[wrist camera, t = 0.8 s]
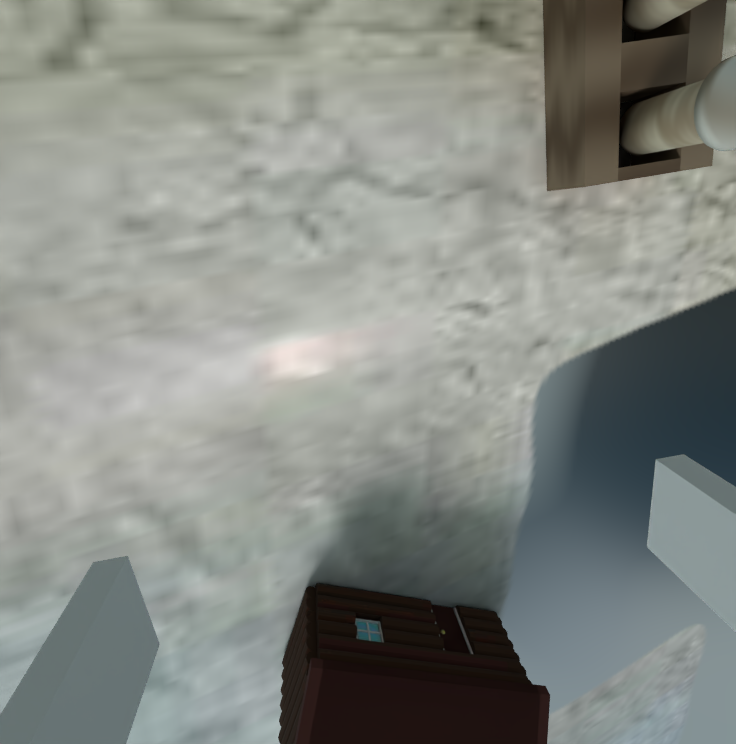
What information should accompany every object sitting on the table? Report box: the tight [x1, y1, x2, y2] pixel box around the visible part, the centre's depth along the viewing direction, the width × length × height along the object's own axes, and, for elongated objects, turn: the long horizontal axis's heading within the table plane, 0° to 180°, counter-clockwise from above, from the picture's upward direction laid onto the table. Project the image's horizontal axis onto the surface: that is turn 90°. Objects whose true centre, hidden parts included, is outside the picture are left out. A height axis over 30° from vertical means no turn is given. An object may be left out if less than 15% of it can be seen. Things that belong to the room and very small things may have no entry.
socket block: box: [543, 0, 727, 191], centre depth 30 cm, size 20×9×5 cm, turn 9°
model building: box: [278, 583, 550, 744], centre depth 40 cm, size 21×12×15 cm, turn 72°
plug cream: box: [619, 55, 736, 155], centre depth 27 cm, size 4×4×8 cm
